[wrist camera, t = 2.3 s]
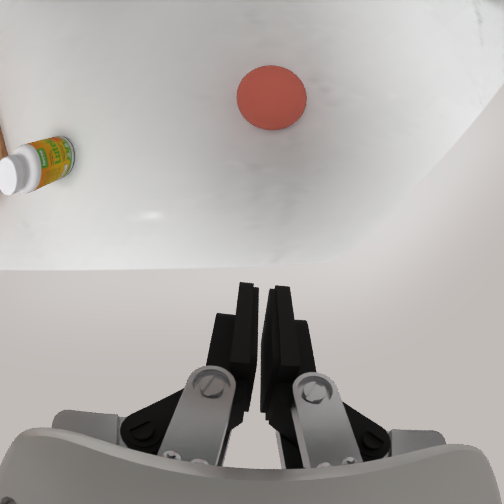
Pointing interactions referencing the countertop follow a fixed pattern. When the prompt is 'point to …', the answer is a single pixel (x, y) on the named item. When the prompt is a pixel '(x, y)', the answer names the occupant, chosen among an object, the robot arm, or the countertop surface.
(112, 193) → the countertop surface
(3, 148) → the wooden box
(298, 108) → the ball
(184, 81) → the countertop surface
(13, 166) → the supplement bottle
